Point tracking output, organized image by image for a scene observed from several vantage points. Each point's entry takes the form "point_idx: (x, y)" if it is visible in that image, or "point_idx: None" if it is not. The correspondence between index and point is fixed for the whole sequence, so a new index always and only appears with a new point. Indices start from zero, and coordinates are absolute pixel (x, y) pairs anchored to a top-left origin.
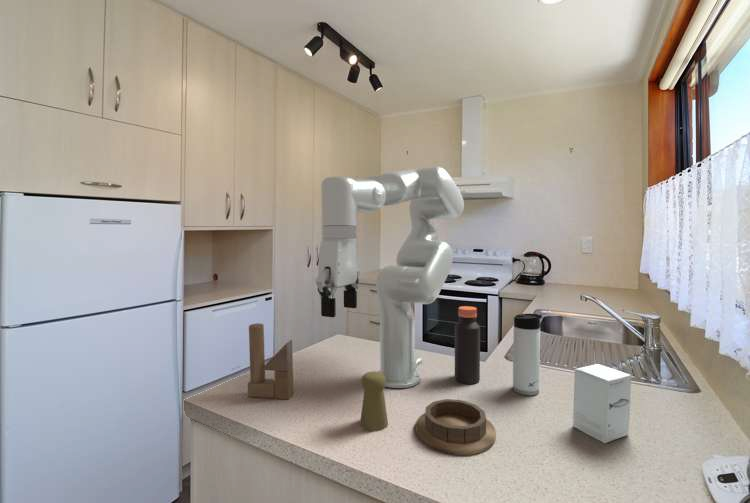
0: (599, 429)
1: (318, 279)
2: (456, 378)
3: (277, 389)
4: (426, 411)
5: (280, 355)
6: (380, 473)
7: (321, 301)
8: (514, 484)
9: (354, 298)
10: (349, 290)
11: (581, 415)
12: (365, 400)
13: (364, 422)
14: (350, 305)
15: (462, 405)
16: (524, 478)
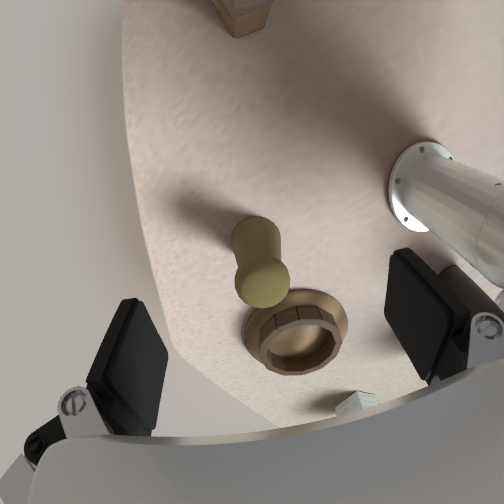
0: (340, 412)
1: (12, 498)
2: (442, 275)
3: (222, 14)
4: (286, 325)
5: None
6: (165, 306)
7: (96, 361)
8: (237, 386)
9: (407, 349)
10: (444, 357)
11: (354, 407)
12: (238, 257)
13: (233, 240)
14: (392, 299)
15: (333, 342)
16: (250, 389)
